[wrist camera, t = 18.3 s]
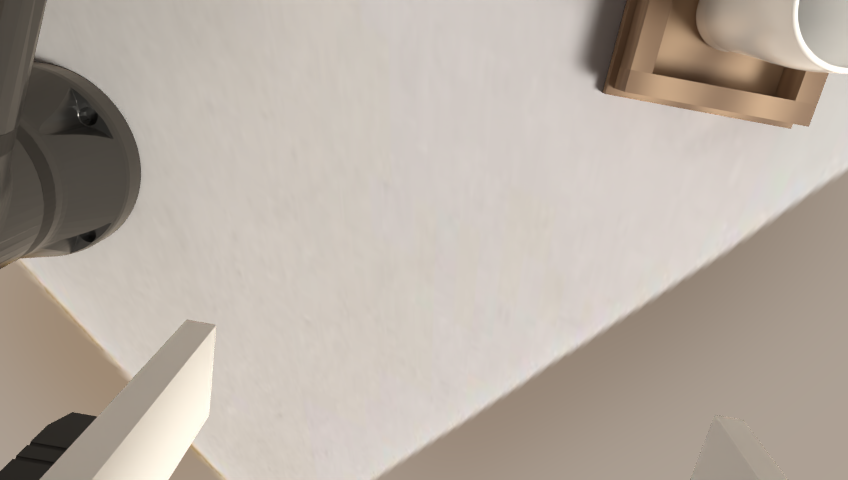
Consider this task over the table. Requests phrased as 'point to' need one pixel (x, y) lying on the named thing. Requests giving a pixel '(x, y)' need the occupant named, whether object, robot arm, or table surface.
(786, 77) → the walnut dock
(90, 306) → the table surface
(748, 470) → the robot arm
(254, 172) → the table surface
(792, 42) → the drinking glass
